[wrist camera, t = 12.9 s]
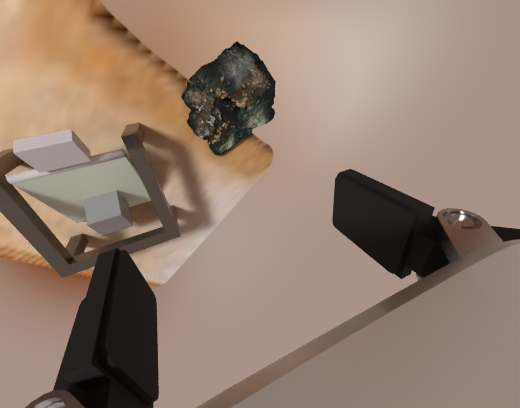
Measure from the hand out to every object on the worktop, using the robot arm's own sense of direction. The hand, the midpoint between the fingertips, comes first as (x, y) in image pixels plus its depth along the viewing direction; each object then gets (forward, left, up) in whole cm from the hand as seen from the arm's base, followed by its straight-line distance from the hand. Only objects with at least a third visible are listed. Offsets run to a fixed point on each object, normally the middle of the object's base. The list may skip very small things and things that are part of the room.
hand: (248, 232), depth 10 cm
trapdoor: (+6, -16, -34) cm, 38 cm away
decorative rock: (0, +10, -39) cm, 40 cm away
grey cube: (+11, -16, -35) cm, 40 cm away
